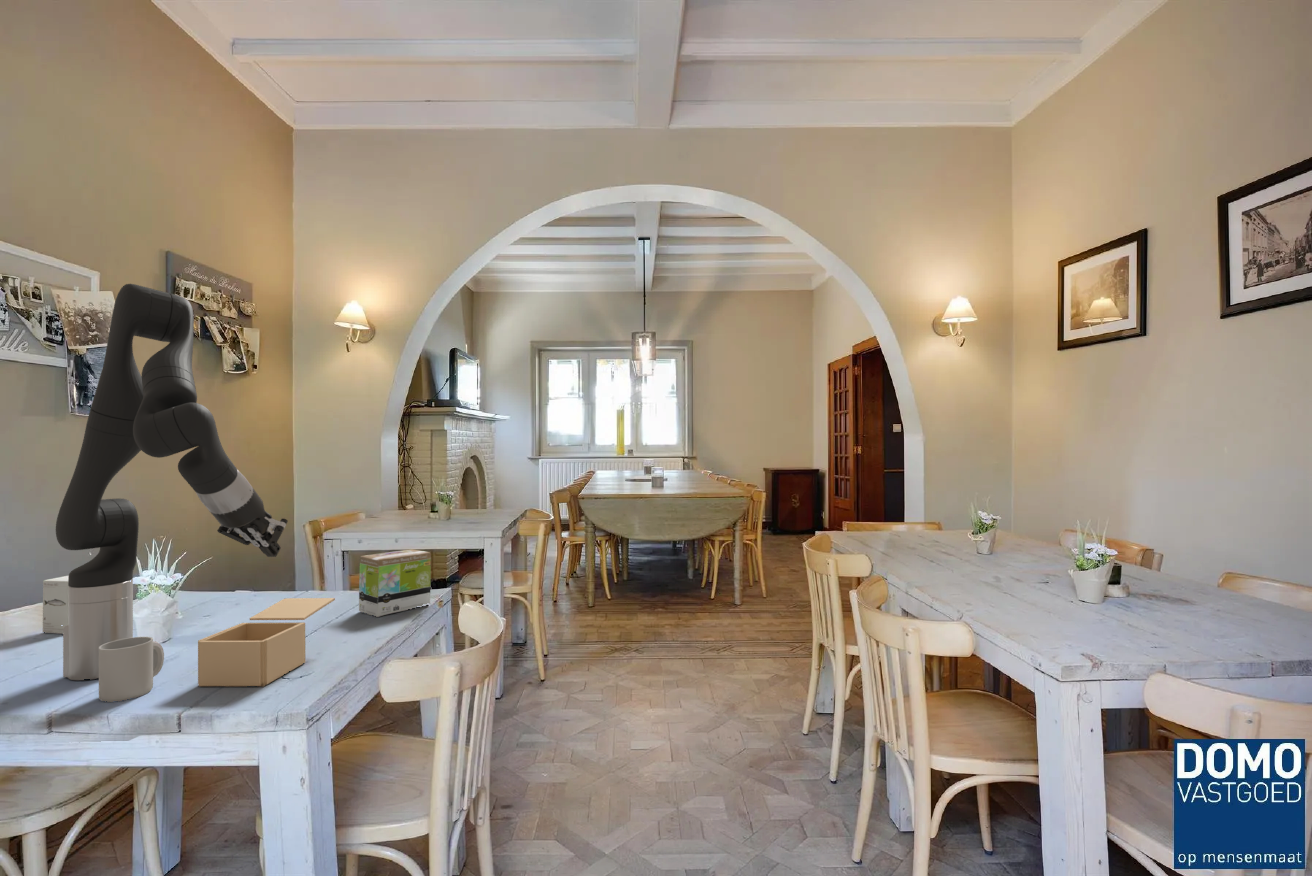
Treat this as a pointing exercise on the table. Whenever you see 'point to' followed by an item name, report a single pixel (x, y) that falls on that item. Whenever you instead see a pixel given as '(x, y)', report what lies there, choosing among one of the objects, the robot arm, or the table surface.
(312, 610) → the flap
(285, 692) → the table surface
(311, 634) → the table surface
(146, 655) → the cup
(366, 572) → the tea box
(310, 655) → the table surface
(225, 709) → the table surface
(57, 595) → the supplement box
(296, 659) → the carton
